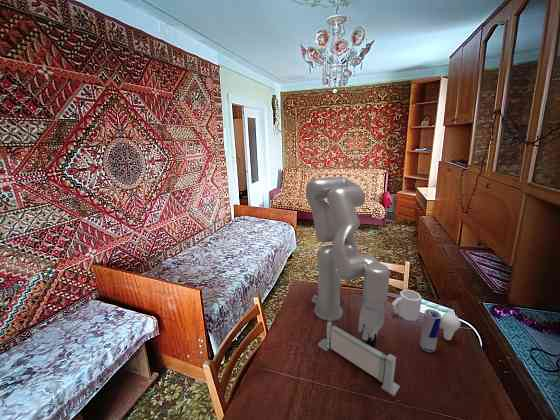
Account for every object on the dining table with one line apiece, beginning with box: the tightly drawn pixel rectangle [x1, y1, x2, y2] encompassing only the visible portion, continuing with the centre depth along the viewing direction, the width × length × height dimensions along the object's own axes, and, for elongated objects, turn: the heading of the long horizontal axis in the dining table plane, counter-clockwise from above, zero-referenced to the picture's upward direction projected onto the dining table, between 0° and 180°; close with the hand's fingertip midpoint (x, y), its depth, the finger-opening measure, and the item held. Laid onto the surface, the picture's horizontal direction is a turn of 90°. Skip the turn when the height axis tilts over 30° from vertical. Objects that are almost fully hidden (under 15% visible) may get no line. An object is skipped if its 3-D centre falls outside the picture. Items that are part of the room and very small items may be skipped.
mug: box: [391, 289, 423, 322], centre depth 111 cm, size 12×9×10 cm
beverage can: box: [419, 308, 442, 353], centre depth 93 cm, size 5×5×15 cm
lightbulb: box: [440, 312, 461, 341], centre depth 97 cm, size 6×6×11 cm
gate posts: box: [317, 321, 401, 397], centre depth 87 cm, size 28×4×11 cm, turn 45°
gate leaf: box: [330, 325, 388, 384], centre depth 87 cm, size 20×2×9 cm, turn 45°
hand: (370, 346), depth 90 cm, fingers closed
